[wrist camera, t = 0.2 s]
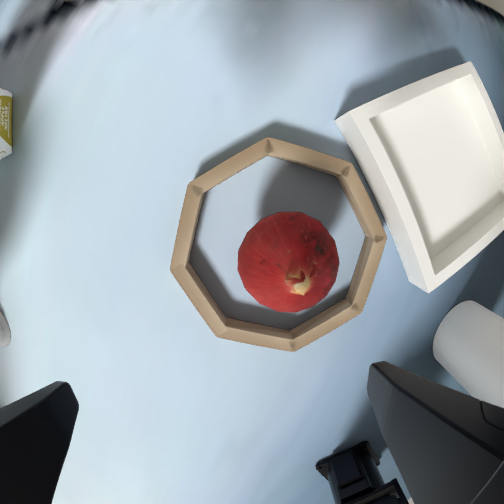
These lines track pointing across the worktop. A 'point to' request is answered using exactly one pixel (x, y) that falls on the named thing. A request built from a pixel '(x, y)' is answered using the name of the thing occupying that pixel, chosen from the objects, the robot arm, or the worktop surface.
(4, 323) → the chalice
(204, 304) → the ring collar
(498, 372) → the cylindrical container
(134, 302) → the worktop surface
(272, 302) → the onion
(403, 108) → the tray
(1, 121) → the juice carton
